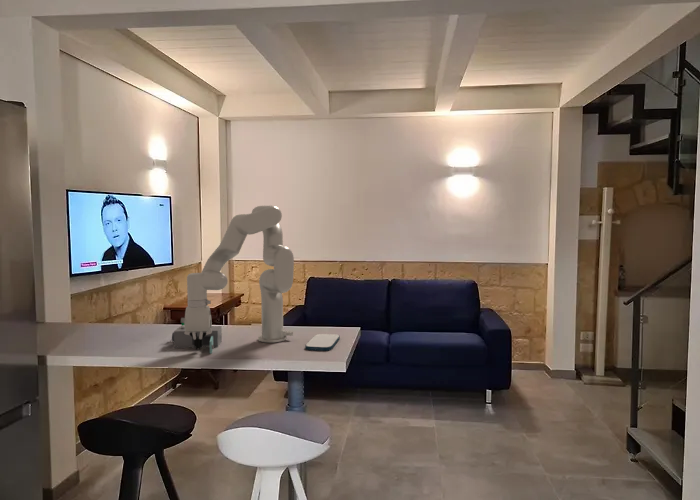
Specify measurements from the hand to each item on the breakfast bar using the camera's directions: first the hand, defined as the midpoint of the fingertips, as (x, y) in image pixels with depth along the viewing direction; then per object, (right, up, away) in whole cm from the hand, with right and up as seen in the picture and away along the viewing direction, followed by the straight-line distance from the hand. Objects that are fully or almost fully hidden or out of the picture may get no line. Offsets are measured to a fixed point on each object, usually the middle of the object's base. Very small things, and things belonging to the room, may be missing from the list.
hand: (198, 348), depth 203 cm
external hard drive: (+50, -2, +15) cm, 52 cm away
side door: (+5, -1, +3) cm, 6 cm away
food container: (-10, 0, +26) cm, 28 cm away
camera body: (-4, -1, +12) cm, 13 cm away
